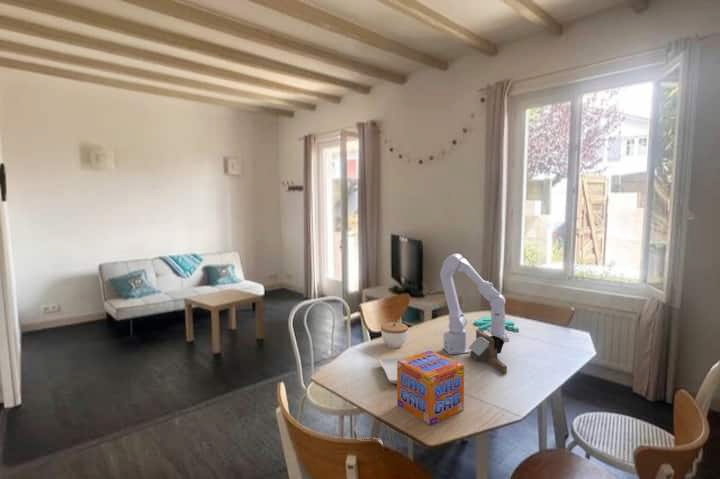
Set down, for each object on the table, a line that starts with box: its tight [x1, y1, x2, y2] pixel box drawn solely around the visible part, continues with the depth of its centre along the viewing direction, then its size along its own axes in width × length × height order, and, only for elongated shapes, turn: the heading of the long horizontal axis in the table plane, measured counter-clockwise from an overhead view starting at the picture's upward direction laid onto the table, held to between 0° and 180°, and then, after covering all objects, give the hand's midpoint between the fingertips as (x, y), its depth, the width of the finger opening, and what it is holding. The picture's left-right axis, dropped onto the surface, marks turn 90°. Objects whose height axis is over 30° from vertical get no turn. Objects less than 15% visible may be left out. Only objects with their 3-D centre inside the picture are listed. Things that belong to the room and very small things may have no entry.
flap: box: [468, 336, 489, 356], centre depth 172 cm, size 1×9×7 cm
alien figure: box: [474, 316, 520, 333], centre depth 217 cm, size 20×2×20 cm
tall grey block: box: [469, 346, 498, 362], centre depth 172 cm, size 10×5×4 cm, turn 101°
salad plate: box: [377, 356, 409, 385], centre depth 157 cm, size 21×21×3 cm
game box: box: [396, 350, 465, 426], centre depth 131 cm, size 16×16×16 cm
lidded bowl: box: [380, 321, 409, 349], centre depth 188 cm, size 13×13×11 cm
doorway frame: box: [475, 329, 508, 375], centre depth 167 cm, size 2×23×10 cm, turn 11°
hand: (497, 352), depth 173 cm, fingers closed, pressing on tall grey block
